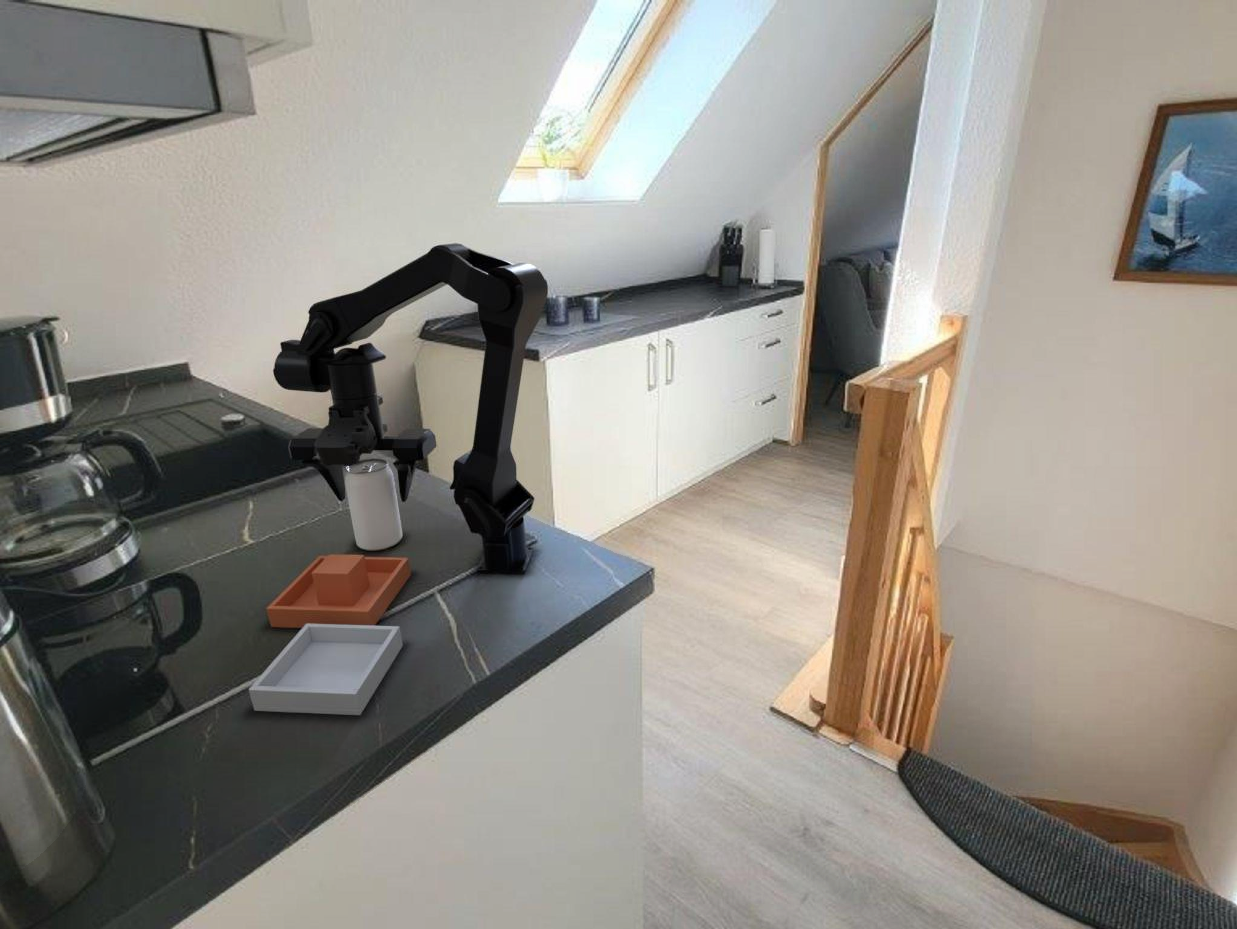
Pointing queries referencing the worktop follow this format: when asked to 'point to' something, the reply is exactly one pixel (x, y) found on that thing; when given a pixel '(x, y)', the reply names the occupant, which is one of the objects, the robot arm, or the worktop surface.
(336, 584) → the block
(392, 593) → the terracotta tray
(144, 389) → the worktop surface
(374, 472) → the can
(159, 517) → the worktop surface
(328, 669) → the steel tray
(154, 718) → the worktop surface
